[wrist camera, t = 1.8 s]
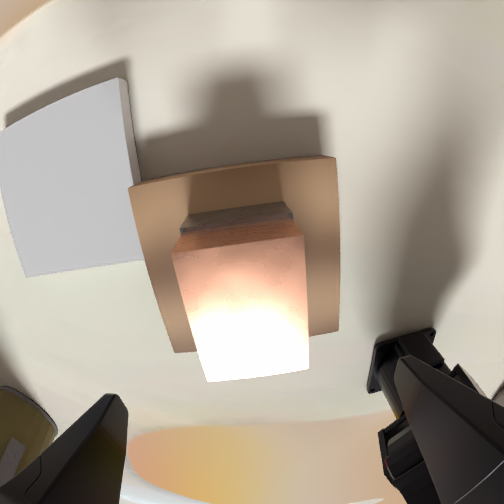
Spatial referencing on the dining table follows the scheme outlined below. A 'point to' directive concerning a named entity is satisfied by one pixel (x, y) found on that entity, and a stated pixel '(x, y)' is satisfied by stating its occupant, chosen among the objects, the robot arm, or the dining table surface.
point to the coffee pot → (500, 397)
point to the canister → (21, 432)
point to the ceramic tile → (72, 182)
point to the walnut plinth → (236, 195)
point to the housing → (245, 290)
